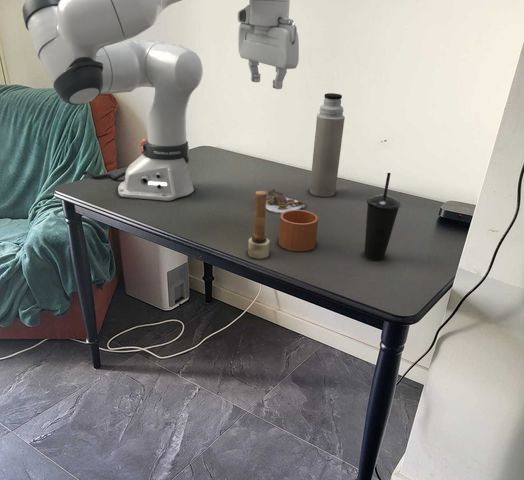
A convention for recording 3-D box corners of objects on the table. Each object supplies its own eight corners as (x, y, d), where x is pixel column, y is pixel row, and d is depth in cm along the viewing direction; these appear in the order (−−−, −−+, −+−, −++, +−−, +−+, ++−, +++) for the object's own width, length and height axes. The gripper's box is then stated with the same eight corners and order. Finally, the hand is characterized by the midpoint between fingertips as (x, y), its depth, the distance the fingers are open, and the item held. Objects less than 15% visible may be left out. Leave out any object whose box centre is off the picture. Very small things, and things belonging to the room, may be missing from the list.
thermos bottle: (310, 187, 165) (319, 90, 148) (335, 189, 164) (347, 92, 148) (309, 195, 158) (318, 95, 142) (335, 197, 158) (348, 97, 141)
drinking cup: (355, 249, 128) (367, 167, 116) (384, 249, 129) (400, 168, 117) (362, 263, 122) (376, 178, 110) (393, 263, 123) (411, 179, 111)
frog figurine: (254, 206, 149) (254, 193, 147) (277, 196, 157) (277, 183, 155) (287, 216, 144) (288, 203, 142) (309, 205, 152) (310, 192, 150)
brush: (244, 255, 123) (246, 193, 114) (253, 248, 126) (255, 187, 118) (263, 260, 121) (266, 197, 112) (272, 252, 125) (275, 191, 116)
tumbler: (280, 251, 125) (282, 224, 121) (277, 235, 133) (278, 209, 129) (318, 251, 126) (321, 224, 122) (312, 236, 134) (314, 210, 130)
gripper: (308, 19, 109) (302, 92, 117) (256, 12, 122) (254, 77, 130) (284, 19, 106) (280, 93, 114) (233, 12, 119) (233, 79, 128)
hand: (266, 85), depth 122 cm, fingers open, 8 cm apart
